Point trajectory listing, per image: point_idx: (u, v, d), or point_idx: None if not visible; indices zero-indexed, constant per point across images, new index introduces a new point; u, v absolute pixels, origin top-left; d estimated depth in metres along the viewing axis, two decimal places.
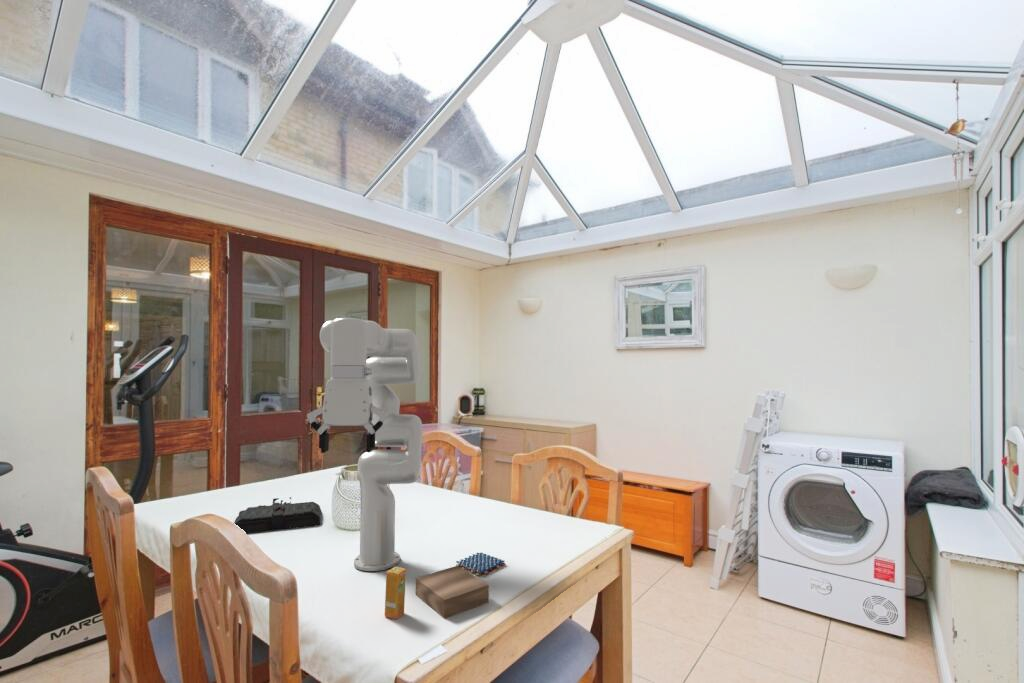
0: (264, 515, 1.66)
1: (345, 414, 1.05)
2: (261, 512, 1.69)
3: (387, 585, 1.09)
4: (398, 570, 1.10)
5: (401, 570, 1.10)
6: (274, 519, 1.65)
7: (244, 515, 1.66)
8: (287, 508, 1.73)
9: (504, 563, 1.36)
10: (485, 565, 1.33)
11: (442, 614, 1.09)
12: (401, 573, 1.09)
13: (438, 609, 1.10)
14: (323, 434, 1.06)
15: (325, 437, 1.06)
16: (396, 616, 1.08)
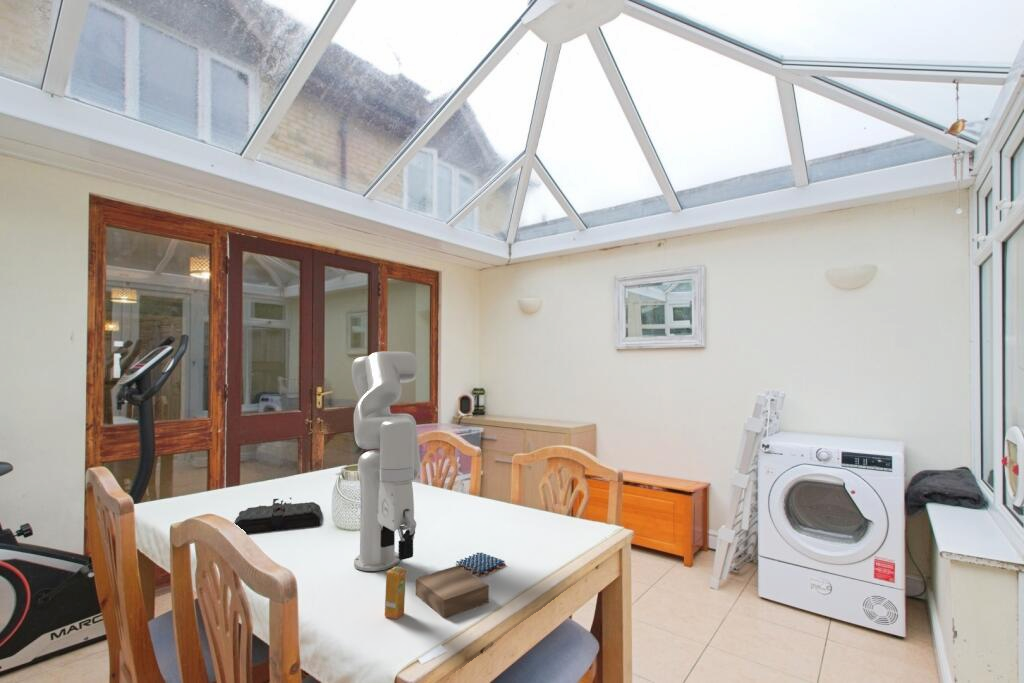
0: (264, 515, 1.66)
1: None
2: (261, 513, 1.68)
3: (387, 585, 1.09)
4: (398, 570, 1.10)
5: (401, 570, 1.10)
6: (274, 520, 1.65)
7: (244, 515, 1.65)
8: (287, 508, 1.73)
9: (504, 563, 1.36)
10: (485, 565, 1.33)
11: (442, 614, 1.09)
12: (401, 573, 1.09)
13: (438, 609, 1.10)
14: None
15: None
16: (396, 616, 1.08)
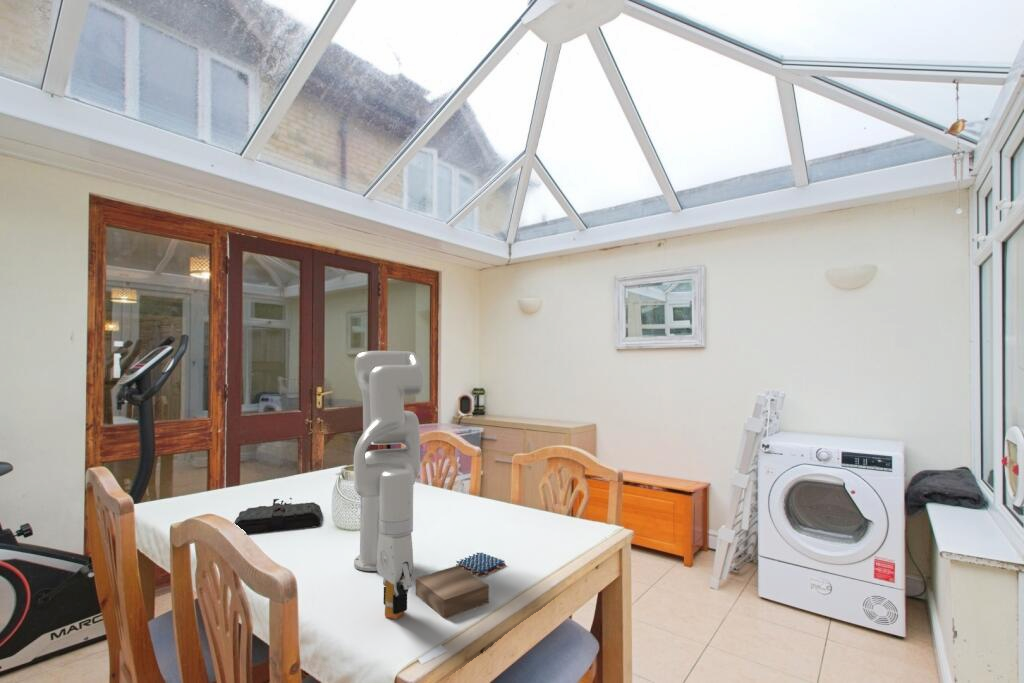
0: (264, 515, 1.66)
1: None
2: (261, 513, 1.68)
3: (387, 585, 1.09)
4: None
5: None
6: (274, 520, 1.65)
7: (244, 516, 1.65)
8: (287, 509, 1.72)
9: (504, 563, 1.36)
10: (485, 565, 1.33)
11: (442, 614, 1.09)
12: None
13: (438, 609, 1.10)
14: None
15: None
16: (396, 616, 1.08)
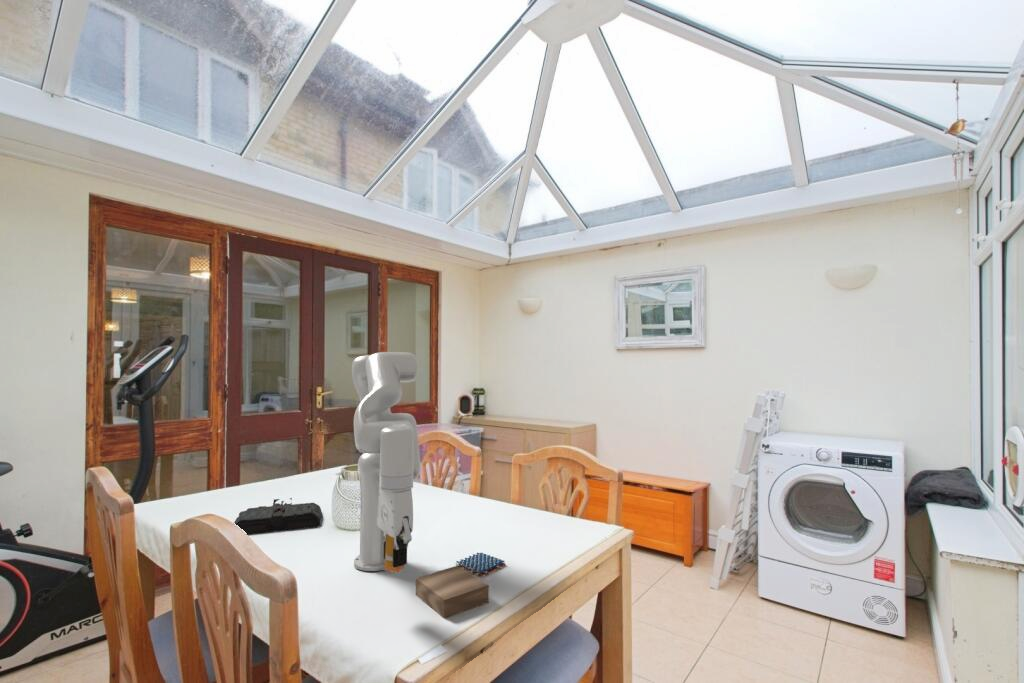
0: (263, 516, 1.65)
1: None
2: (261, 513, 1.68)
3: (387, 539, 1.10)
4: None
5: None
6: (274, 520, 1.64)
7: (244, 516, 1.65)
8: (287, 509, 1.72)
9: (504, 563, 1.36)
10: (485, 565, 1.33)
11: (442, 614, 1.09)
12: None
13: (438, 609, 1.10)
14: None
15: None
16: (396, 570, 1.09)
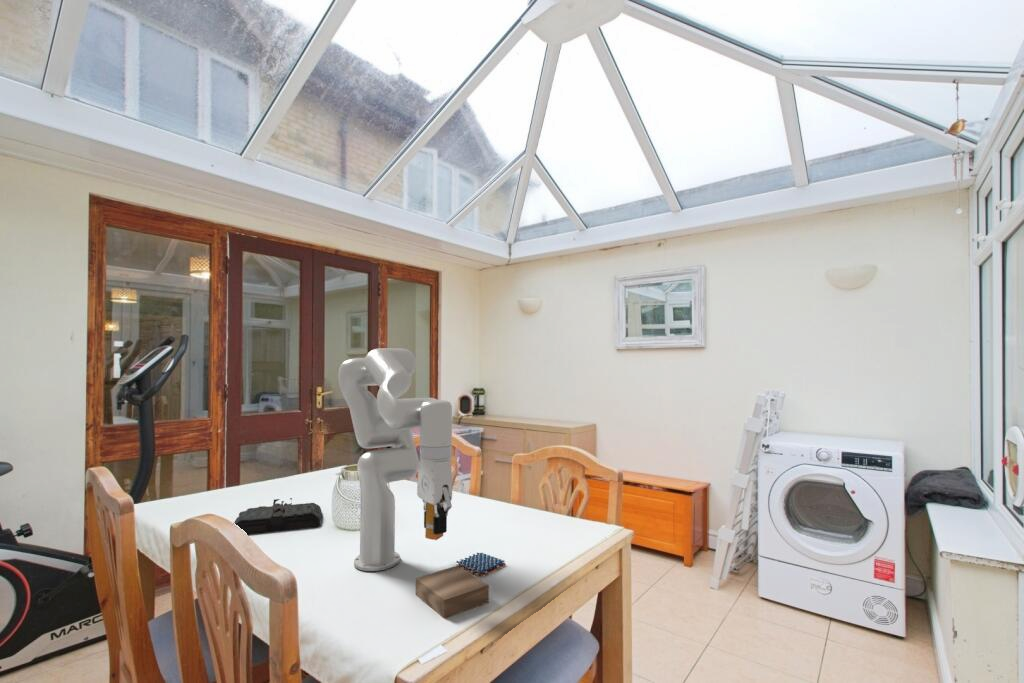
0: (263, 516, 1.65)
1: None
2: (261, 514, 1.67)
3: (427, 508, 1.15)
4: None
5: None
6: (274, 521, 1.64)
7: (244, 516, 1.64)
8: (287, 509, 1.72)
9: (504, 563, 1.36)
10: (485, 565, 1.33)
11: (442, 614, 1.09)
12: None
13: (438, 609, 1.10)
14: None
15: None
16: (436, 537, 1.14)
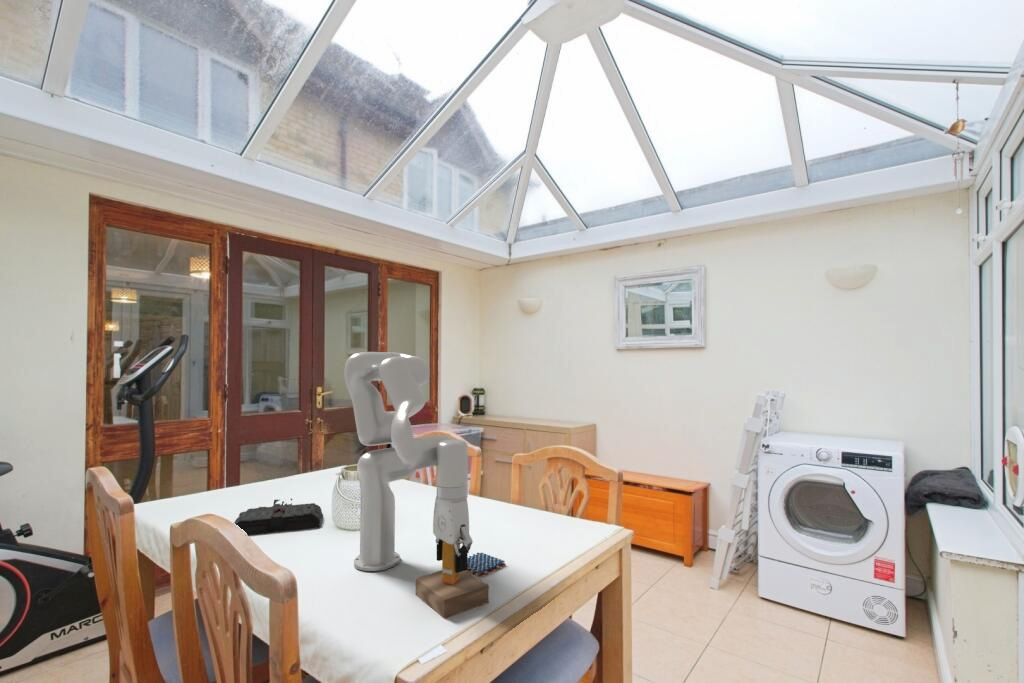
0: (263, 516, 1.65)
1: None
2: (261, 514, 1.67)
3: (444, 553, 1.17)
4: None
5: None
6: (273, 521, 1.63)
7: (243, 517, 1.64)
8: (287, 510, 1.71)
9: (503, 563, 1.36)
10: (485, 565, 1.33)
11: (442, 614, 1.09)
12: None
13: (438, 609, 1.10)
14: None
15: None
16: (453, 582, 1.16)
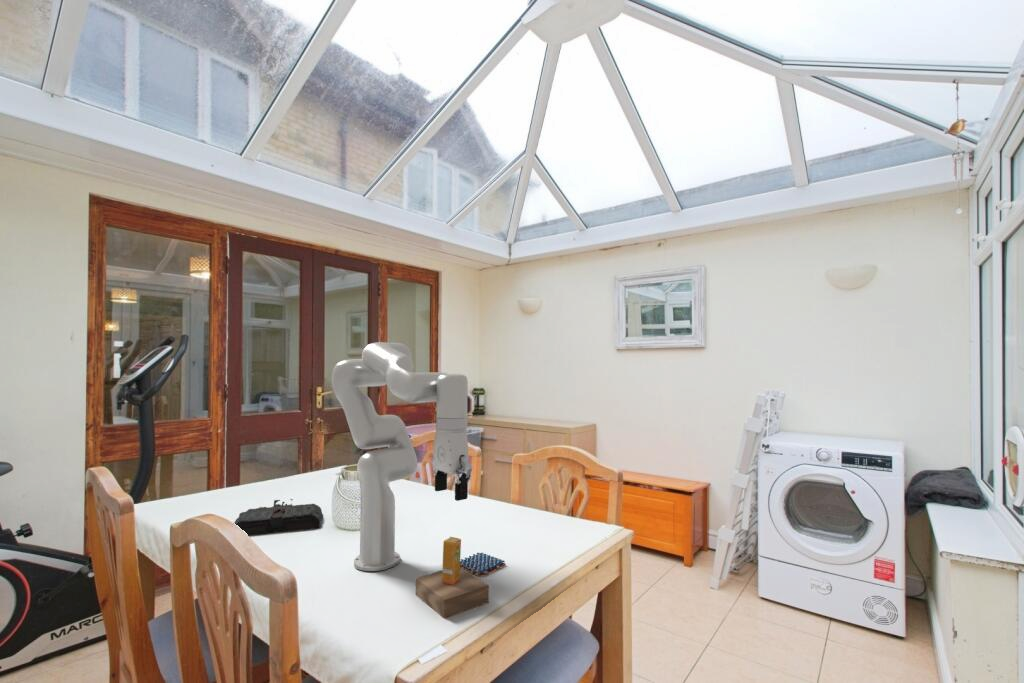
0: (263, 517, 1.64)
1: None
2: (261, 514, 1.66)
3: (444, 553, 1.17)
4: (454, 540, 1.18)
5: (457, 540, 1.18)
6: (273, 522, 1.63)
7: (243, 517, 1.64)
8: (287, 510, 1.71)
9: (504, 563, 1.36)
10: (485, 565, 1.33)
11: (442, 614, 1.09)
12: (457, 542, 1.17)
13: (438, 609, 1.10)
14: None
15: None
16: (453, 582, 1.16)
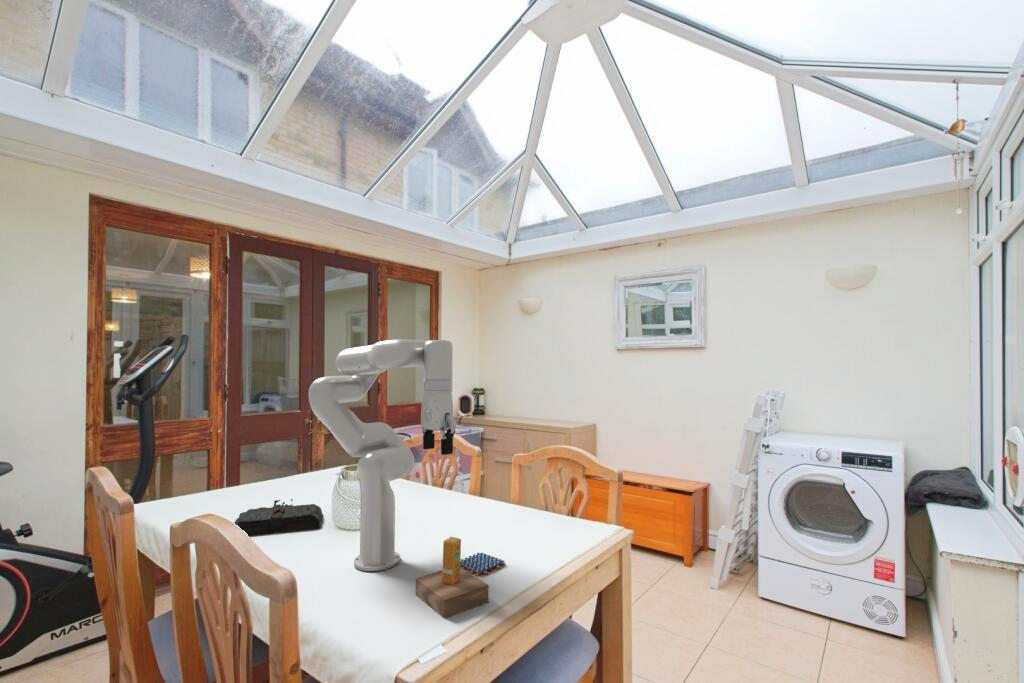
0: (263, 517, 1.64)
1: None
2: (260, 515, 1.66)
3: (444, 553, 1.17)
4: (454, 540, 1.18)
5: (457, 540, 1.18)
6: (273, 522, 1.63)
7: (243, 517, 1.63)
8: (287, 510, 1.70)
9: (504, 563, 1.36)
10: (485, 565, 1.33)
11: (442, 614, 1.09)
12: (457, 542, 1.17)
13: (438, 609, 1.10)
14: None
15: None
16: (453, 582, 1.16)
